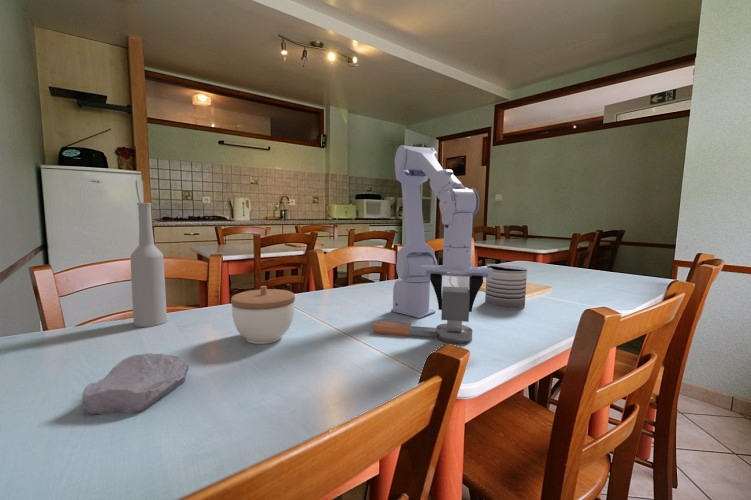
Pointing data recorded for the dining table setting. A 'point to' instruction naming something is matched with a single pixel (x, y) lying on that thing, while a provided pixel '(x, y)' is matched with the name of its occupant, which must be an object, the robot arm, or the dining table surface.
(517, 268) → the can
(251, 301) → the lidded bowl
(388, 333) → the ratchet
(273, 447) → the dining table surface
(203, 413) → the dining table surface
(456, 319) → the dark grey cube
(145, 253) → the bottle
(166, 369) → the stone block
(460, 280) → the cup
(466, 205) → the robot arm
